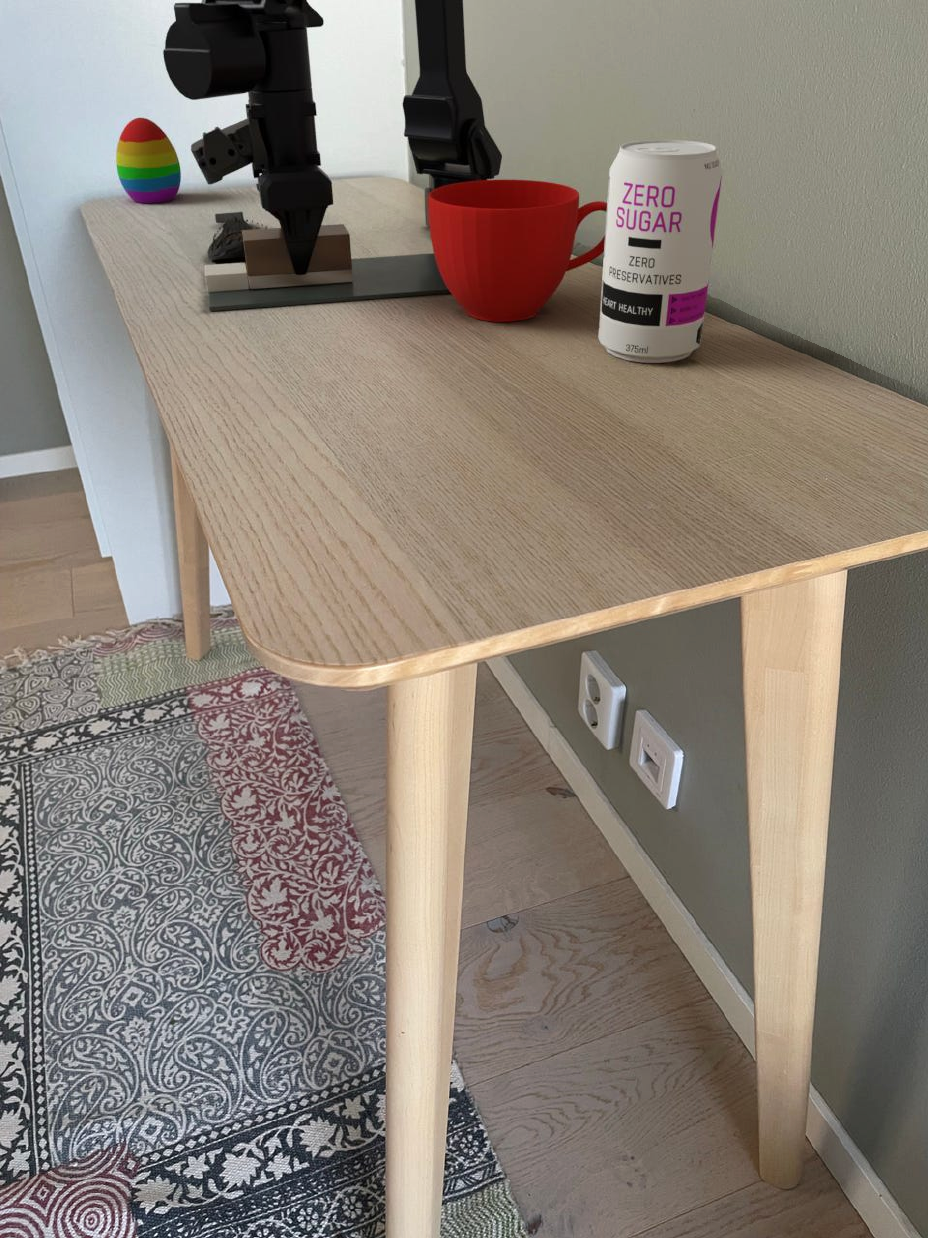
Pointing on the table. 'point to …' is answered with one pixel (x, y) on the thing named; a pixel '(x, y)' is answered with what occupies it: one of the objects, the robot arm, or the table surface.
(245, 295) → the slate board
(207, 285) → the chalk
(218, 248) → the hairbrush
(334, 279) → the eraser
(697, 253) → the white soda can
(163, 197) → the decorative egg
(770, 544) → the table surface
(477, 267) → the ceramic cup
